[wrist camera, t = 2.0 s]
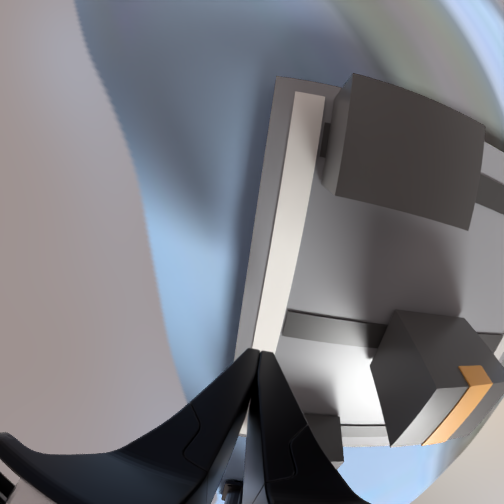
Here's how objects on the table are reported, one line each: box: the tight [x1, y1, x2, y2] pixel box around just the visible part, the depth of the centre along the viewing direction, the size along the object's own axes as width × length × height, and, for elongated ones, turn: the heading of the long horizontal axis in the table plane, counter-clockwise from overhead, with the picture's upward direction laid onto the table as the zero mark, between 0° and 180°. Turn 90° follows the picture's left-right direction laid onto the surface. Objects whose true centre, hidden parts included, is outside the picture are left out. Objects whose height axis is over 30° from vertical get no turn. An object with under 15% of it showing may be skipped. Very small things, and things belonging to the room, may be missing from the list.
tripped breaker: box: [370, 309, 504, 447], centre depth 8 cm, size 3×4×5 cm
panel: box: [234, 73, 504, 470], centre depth 9 cm, size 18×16×4 cm
